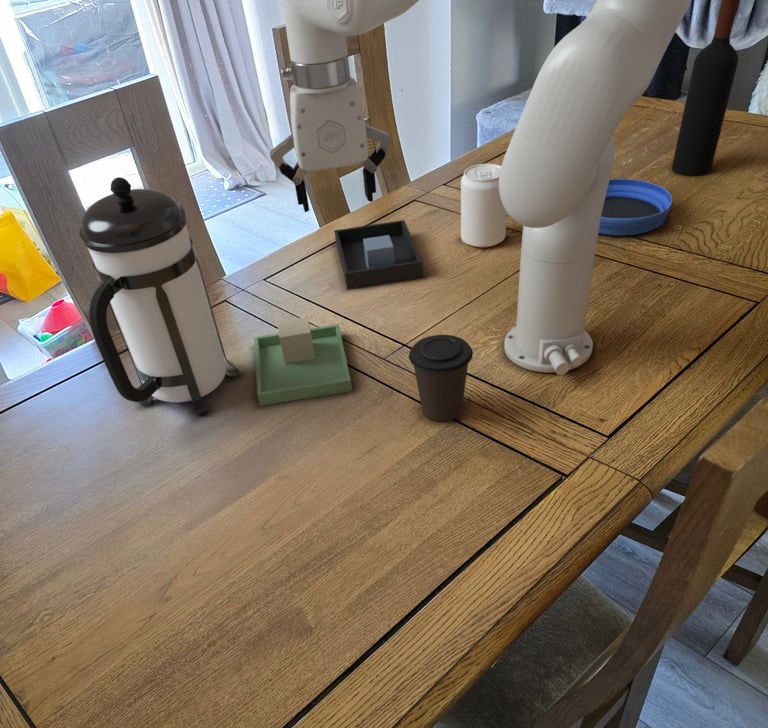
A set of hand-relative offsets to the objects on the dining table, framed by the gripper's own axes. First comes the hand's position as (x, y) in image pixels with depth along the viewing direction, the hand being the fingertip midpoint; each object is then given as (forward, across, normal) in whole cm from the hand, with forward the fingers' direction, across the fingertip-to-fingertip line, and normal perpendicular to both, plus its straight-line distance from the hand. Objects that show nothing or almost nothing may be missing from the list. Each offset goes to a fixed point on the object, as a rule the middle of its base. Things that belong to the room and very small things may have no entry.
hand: (337, 203), depth 104 cm
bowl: (+16, +53, +14) cm, 57 cm away
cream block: (+16, -10, -13) cm, 23 cm away
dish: (+16, -10, -17) cm, 25 cm away
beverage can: (+16, +27, +14) cm, 35 cm away
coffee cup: (+16, +8, -32) cm, 37 cm away
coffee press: (+16, -27, -18) cm, 37 cm away
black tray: (+16, +7, +13) cm, 22 cm away
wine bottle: (+16, +76, +29) cm, 83 cm away
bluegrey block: (+16, +7, +9) cm, 20 cm away
